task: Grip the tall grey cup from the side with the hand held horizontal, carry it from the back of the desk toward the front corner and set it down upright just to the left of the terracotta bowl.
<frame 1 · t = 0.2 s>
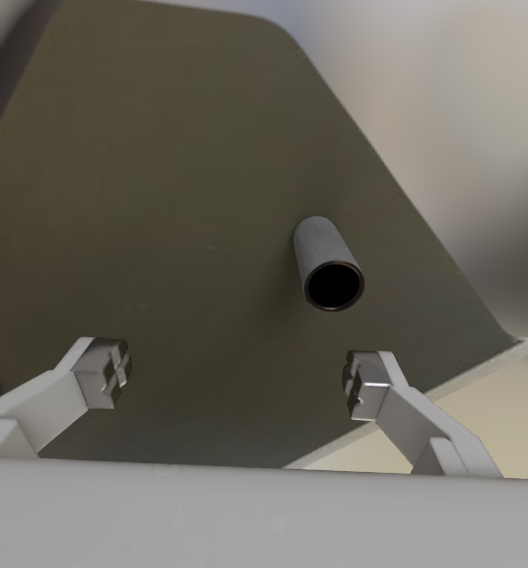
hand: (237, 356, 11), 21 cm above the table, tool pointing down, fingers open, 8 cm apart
tall grey cup: (314, 236, 31), on the table
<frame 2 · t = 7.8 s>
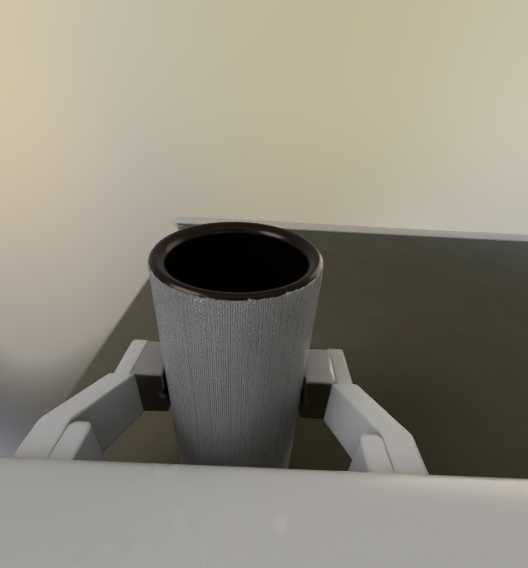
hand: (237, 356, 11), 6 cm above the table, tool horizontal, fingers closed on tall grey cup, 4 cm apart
tall grey cup: (236, 465, 13), on the table, touching gripper
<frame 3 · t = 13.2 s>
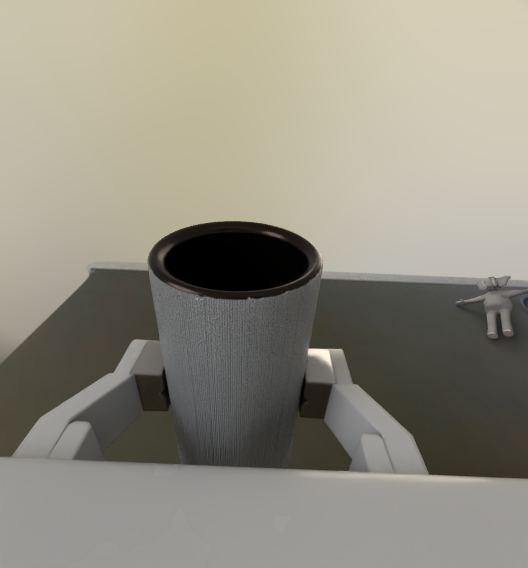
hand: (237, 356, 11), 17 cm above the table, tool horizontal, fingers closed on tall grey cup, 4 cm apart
tall grey cup: (235, 464, 13), point 11 cm above the table, touching gripper
grey figurine: (492, 323, 42), on the table
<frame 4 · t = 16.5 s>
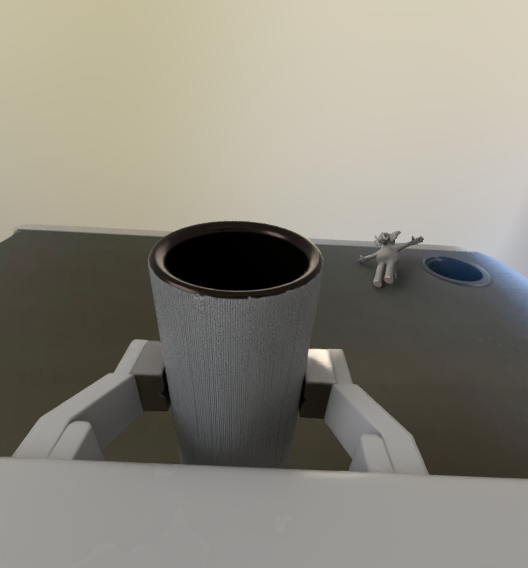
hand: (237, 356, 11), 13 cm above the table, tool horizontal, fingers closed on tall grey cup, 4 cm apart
tall grey cup: (236, 464, 13), point 7 cm above the table, touching gripper
grey figurine: (385, 276, 45), on the table
when the fingers open (6 cm above the table, at t = 19.0 s): tall grey cup stays where it is, on the table.
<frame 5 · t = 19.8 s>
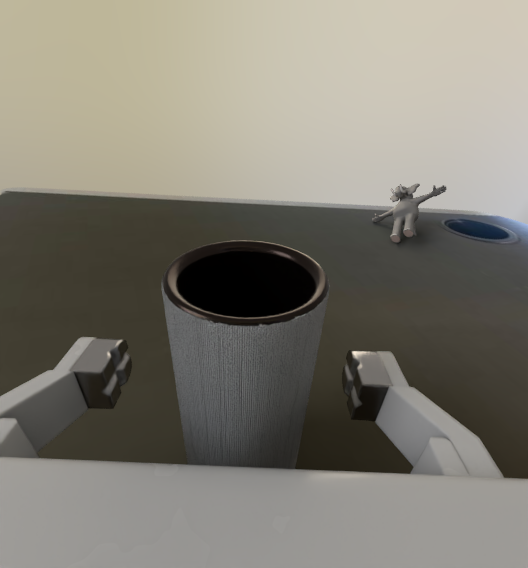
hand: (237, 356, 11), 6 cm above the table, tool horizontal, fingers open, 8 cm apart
tall grey cup: (242, 473, 14), on the table
grey figurine: (402, 234, 41), on the table
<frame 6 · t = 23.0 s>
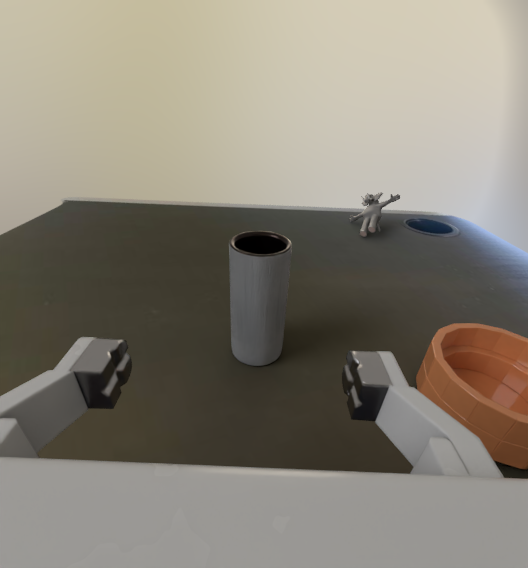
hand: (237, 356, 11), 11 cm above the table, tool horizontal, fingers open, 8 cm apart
tall grey cup: (256, 349, 27), on the table
bowl: (480, 409, 22), on the table
grey figurine: (371, 230, 54), on the table
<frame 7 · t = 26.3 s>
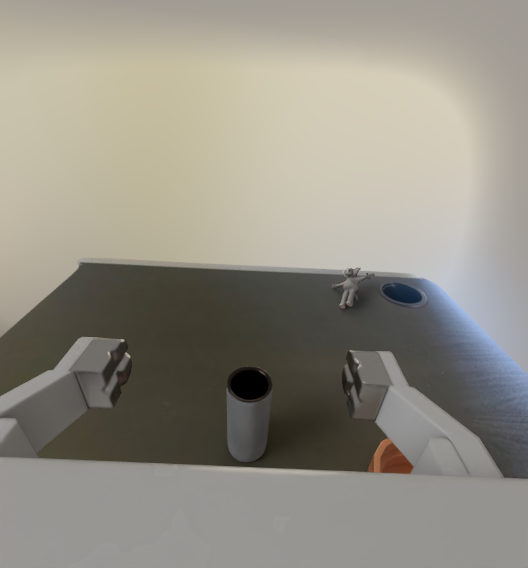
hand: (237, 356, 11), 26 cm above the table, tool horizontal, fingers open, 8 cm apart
tall grey cup: (247, 444, 35), on the table
bowl: (410, 503, 31), on the table
grey figurine: (350, 300, 62), on the table
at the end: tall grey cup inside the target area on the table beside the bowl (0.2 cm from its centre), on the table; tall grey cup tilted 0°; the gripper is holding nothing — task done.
